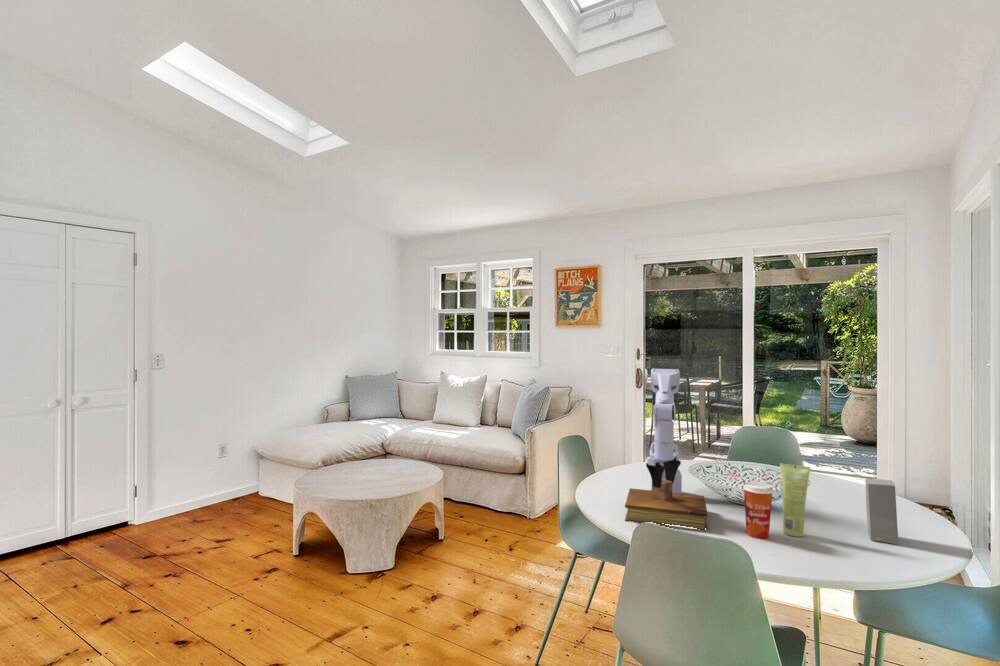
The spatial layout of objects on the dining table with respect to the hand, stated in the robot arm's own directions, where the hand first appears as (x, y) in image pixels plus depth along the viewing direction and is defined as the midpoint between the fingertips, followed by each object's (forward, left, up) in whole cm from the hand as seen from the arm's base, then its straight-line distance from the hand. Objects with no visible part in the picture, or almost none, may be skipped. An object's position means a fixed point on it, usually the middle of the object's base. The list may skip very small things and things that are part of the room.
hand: (663, 485), depth 162 cm
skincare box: (-41, +41, -9) cm, 59 cm away
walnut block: (0, 0, -4) cm, 4 cm away
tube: (-21, +29, -9) cm, 37 cm away
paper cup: (-11, +25, -9) cm, 29 cm away
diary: (+1, +2, -10) cm, 10 cm away
